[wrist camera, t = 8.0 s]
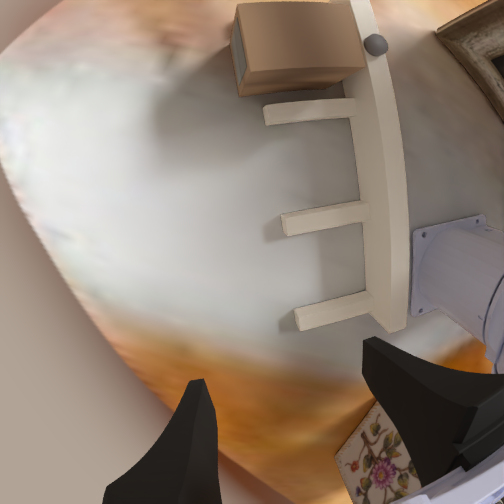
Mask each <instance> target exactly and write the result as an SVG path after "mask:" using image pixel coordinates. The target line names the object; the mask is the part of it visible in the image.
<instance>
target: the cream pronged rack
mask: <svg viewBox="0 0 504 504" xmlns="http://www.w3.org/2000/svg"><path fill="white" fill-rule="evenodd" d="M328 3H337V4H348V5H349V7H350V11H351V14H352V17H353V21H354V24H355V28H356V31H357V35H358V39H359V43H360V47H361V51H362V55H363V59H364V63H365V68H363V69H362V70H360V71H358V72H356V73H354V74H352V75H350V76H348V77H347V78H345V79H343V80H342V83H343V88H344V93H345V98H342V99H323V100H308V101H297V102H286V103H277V104H269V105H266V106H265V107H264V108H263V114H264V119H265V125H266V126H269V125H276V124H284V123H293V122H302V121H311V120H322V119H335V118H349V120H350V126H351V132H352V138H353V145H354V152H355V159H356V167H357V175H358V183H359V193H360V200H359V201H353V202H347V203H341V204H335V205H330V206H324V207H318V208H313V209H307V210H302V211H296V212H291V213H286V214H280V215H281V221H282V228H283V232H284V233H285V234H286V235H287V236H293V235H298V234H303V233H308V232H313V231H318V230H323V229H328V228H333V227H338V226H343V225H348V224H353V223H358V222H362V226H363V240H364V258H365V285H366V291H362V292H358V293H355V294H351V295H347V296H343V297H340V298H336V299H332V300H328V301H324V302H320V303H316V304H312V305H308V306H304V307H300V308H295V309H294V314H295V322H296V324H297V326H298V328H299V330H300V331H304V330H308V329H312V328H316V327H320V326H324V325H327V324H331V323H335V322H338V321H342V320H345V319H349V318H352V317H356V316H359V315H363V314H366V313H369V314H370V315H371V316H372V317H373V318H374V319H375V320H376V321H377V322H378V323H379V324H380V325H381V326H382V327H383V328H384V329H385V330H386V331H387V332H388V333H389V334H391V333H394V332H397V331H399V330H402V329H405V328H406V324H407V311H408V293H409V212H408V195H407V181H406V170H405V161H404V152H403V144H402V137H401V130H400V123H399V117H398V111H397V105H396V100H395V95H394V90H393V85H392V80H391V76H390V71H389V67H388V63H387V58H386V55H385V53H386V52H387V51H388V44H387V42H386V40H385V39H384V38H383V37H382V36H381V35H380V32H379V29H378V26H377V22H376V19H375V16H374V13H373V10H372V7H371V4H370V1H369V0H330V1H329V2H328Z"/></svg>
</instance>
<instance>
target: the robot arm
mask: <svg viewBox="0 0 504 504" xmlns="http://www.w3.org/2000/svg"><path fill="white" fill-rule="evenodd" d="M423 232H424V235H423V236H422V234H423ZM420 309H421V310H420ZM435 309H439V310H440V311H442V312H443V313H444V314H446V315H447V316H448V317H450V318H451V319H452V320H454V321H455V322H456V323H458V324H459V325H460V326H461V327H463V328H464V329H465V330H467V331H468V332H469V333H471V334H472V335H473V336H474V337H476V338H477V339H478V340H480V341H481V342H482V343H483V344H485V345H486V346H487V349H486V353H485V357H486V358H488V359H489V360H490V361H491V362H492V363H493V364H494V365H493V367H492V374H482V373H471V372H464V371H459V370H454V369H450V368H446V367H443V366H439V365H436V364H433V363H430V362H428V361H425V360H423V359H420V358H418V357H415V356H413V355H411V354H409V353H407V352H405V351H403V350H401V349H399V348H397V347H395V346H393V345H391V344H389V343H387V342H385V341H383V340H381V339H379V338H377V337H375V336H374V337H371V338H368V339H365V340H363V361H362V375H363V377H364V379H365V381H366V383H367V385H368V387H369V389H370V391H371V392H372V394H373V395H374V396H375V398H376V399H377V401H378V402H379V404H380V405H381V407H382V408H383V409H384V411H385V412H386V414H387V415H388V417H389V418H390V420H391V421H392V422H393V424H394V426H395V427H396V429H397V431H398V433H399V435H400V437H401V439H402V441H403V443H404V445H405V447H406V449H407V451H408V454H409V456H410V458H411V460H412V463H413V465H414V468H415V470H416V473H417V475H418V478H419V481H420V484H421V487H422V488H421V489H419V490H417V491H415V492H413V493H411V494H409V495H407V496H405V497H403V498H401V499H399V500H396V501H394V502H392V503H390V504H495V503H496V502H498V501H499V500H500V499H501V498H502V497H504V232H503V231H500V230H498V229H495V228H492V227H489V226H486V216H485V215H483V214H481V215H476V216H472V217H468V218H463V219H459V220H455V221H450V222H446V223H442V224H437V225H433V226H429V227H424V228H420V229H416V230H415V231H414V233H413V271H412V296H411V311H410V313H411V315H412V316H413V317H417V316H420V315H422V314H425V313H428V312H430V311H433V310H435ZM419 310H420V311H419ZM102 504H222V500H221V493H220V486H219V479H218V428H217V420H216V413H215V408H214V406H213V403H212V400H211V397H210V395H209V392H208V389H207V386H206V384H205V381H204V379H197V380H191V381H189V383H188V385H187V387H186V390H185V392H184V394H183V397H182V399H181V401H180V403H179V405H178V407H177V409H176V411H175V413H174V415H173V416H172V418H171V420H170V421H169V423H168V425H167V426H166V428H165V430H164V431H163V433H162V434H161V436H160V437H159V438H158V440H157V441H156V442H155V444H154V445H153V446H152V447H151V448H150V450H149V451H148V452H147V453H146V454H145V455H144V457H142V459H141V460H140V461H138V462H137V463H136V464H135V465H134V466H133V467H132V468H131V469H130V470H128V471H127V472H126V473H125V474H124V475H122V476H121V477H119V478H118V479H117V480H115V481H114V482H112V483H111V484H109V485H108V486H107V487H106V490H105V493H104V497H103V503H102Z"/></svg>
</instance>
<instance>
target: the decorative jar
mask: <svg viewBox="0 0 504 504" xmlns="http://www.w3.org/2000/svg"><path fill="white" fill-rule="evenodd" d="M334 458H335V461H336V463H337V466H338V468H339V471H340V473H341V476H342V479H343V481H344V483H345V486H346V488H347V491H348V493H349V495H350V498H351V500H352V502H353V504H390V503H392V502H394V501H396V500H399V499H401V498H403V497H405V496H407V495H409V494H411V493H413V492H415V491H417V490H419V489H421V488H422V487H421V484H420V481H419V478H418V475H417V473H416V470H415V468H414V465H413V463H412V460H411V458H410V456H409V454H408V451H407V449H406V447H405V445H404V443H403V441H402V439H401V437H400V435H399V433H398V431H397V429H396V427H395V426H394V424H393V422H392V421H391V420H390V418H389V417H388V415H387V414H386V412H385V411H384V409H383V408H382V407H381V405H380V404H379V402H378V401H376V403H375V404H374V405H373V407H372V408H371V409H370V411H369V412H368V414H367V415H366V416H365V418H364V419H363V420H362V422H361V423H360V425H359V426H358V427H357V428H356V430H355V431H354V432H353V433H352V435H351V436H350V437H349V438H348V440H347V441H346V442H345V444H344V445H343V446H342V447H341V449H340V450H339V451H338V452H337V453H336V455H335V456H334Z"/></svg>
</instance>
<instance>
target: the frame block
mask: <svg viewBox="0 0 504 504" xmlns="http://www.w3.org/2000/svg"><path fill="white" fill-rule="evenodd" d="M230 50H231V55H232V60H233V66H234V71H235V77H236V83H237V88H238V94H239V97H243V96H251V95H259V94H268V93H277V92H288V91H301V90H318V89H327V88H329V87H330V86H332V85H334V84H336V83H338V82H339V81H341V80H343V79H345V78H347V77H348V76H350V75H352V74H354V73H356V72H358V71H360V70H362V69H363V68H365V63H364V59H363V55H362V51H361V47H360V43H359V39H358V35H357V31H356V28H355V24H354V21H353V17H352V14H351V11H350V7H349V5H348V4H337V3H323V2H257V3H243V4H237V8H236V13H235V18H234V23H233V28H232V33H231V39H230Z"/></svg>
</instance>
